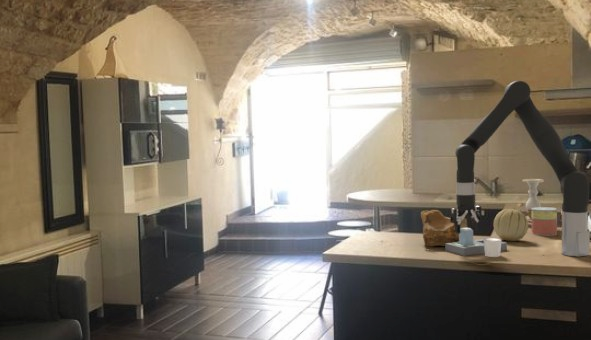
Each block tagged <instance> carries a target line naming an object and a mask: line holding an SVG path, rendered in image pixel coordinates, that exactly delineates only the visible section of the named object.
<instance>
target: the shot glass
mask: <svg viewBox="0 0 591 340" xmlns="http://www.w3.org/2000/svg"><path fill="white" fill-rule="evenodd" d="M482 239H483V240H484V250H485V253H484V256H485V257H488V258H490V257H491V258H497V257H500V256H501V252H502V251H501V242H502V239H501V238H496V237H486V238H482Z"/></svg>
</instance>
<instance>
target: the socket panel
mask: <svg viewBox="0 0 591 340" xmlns="http://www.w3.org/2000/svg"><path fill="white" fill-rule="evenodd" d="M483 239H484V238H480V239H473V245H469V246H465V245H461V244H459V242H452V243H445V246H444V247H445V249H444V250H445V252H449V253H452V254H457V255H460V256H462V257H464V256H473V255H479V254H485V250H484V240H483ZM507 250H508V242H507V241H506V242H505V241H501V251H500V252H502V251H507Z"/></svg>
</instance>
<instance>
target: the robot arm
mask: <svg viewBox="0 0 591 340" xmlns="http://www.w3.org/2000/svg"><path fill="white" fill-rule="evenodd" d="M530 95H531V87H530V85H529V84H528V83H527V82H526V81H523V80H515V81H512V82H511V83H509V84H508V85H507V86H506V87H505V89H504V93H503V96H502V98H501V99H500V100H499V102H498V103H497V104H496V105H495V106H494V108H493V109H492V110H491V111H490V112H489V113H488V114H487V115H485V117H484V118H483V119H482V120H481V121H480V122H479V123H478V124H477V125H476V126H475V128H473V130H472V131H471V133H470V134H469V136H467V137H466V138H465V139H464V140H463V141H462V142H461V143H460V144H458V145H459V146H457V148H456V149H455V158H456V165H457V166H456V167H457V169H456V185H455V191H456V193H455V194H456V195H455V196H456V198H455V202H456V206H457V207H456V208H450V217H449V218H450V222H451V223H454V224H455V232H456V233H458V234H460V233H461V232H460V225H459V224H460V223H461V221H462V220H463V219H464V218H470V219H471V221H472V222H471V225H472V226H471V227H472V228H471V229H472V230H473V232H478V229H479V222H481V221H482V220H483V213H482V206H479V205H476V185H475V157H476V156H475V154H476V152H478V150H479V149H480V148H481V147H482V146H484V145H485V144H486V143H487V142H488V141H489V140H490V138H491V137H492V136H493V135H494V134H495V133H496V131H497V130H498V129H499V128H500V127H501V126H502V124H503V123H504V122H505V120H506V119H507V118H508V117H509V116H510V115H511V114H512V113H513V112H515V113H516V114H517V115H518V117H519V118H520V120H521V122H522V124H523V126H524V128H525V130H526V131H527V133H528V136H530V139H531V140H532V141H533V143H534V145H535V146H536V148H537V150H538V151H539V152H540V153H541V155H542V156H543V158H544V159H545V160H546V161H547V163H548V164H549V165H550V166H551V168H552V169H553V171H554V173H555V175H556V178H557V179H558V182H559V183H560V186H561V188H562V190H563V192H562V193H563V201H562V205H561V254H562V255H564V256H570V257H585V256H590V247H591V245H590V234H591V233H590V231H589V230H588V210H589V209H588V208H589V207H588V206H589V203H590V181H589V178H588V177H587V175H586V174H584V173H583V172H580V170H579V169H578V168H577V167H576V165H575V164H574V163H573V162H572V160H571V159H570V158H569V156H568V154H567V151H566V148H565V146H564V143H563V140H562V139H561V137H560V135H559V133H558V132H557V130H556V129H555V127H554V126H553V125H552V123H550V121H549V120H548V119H547V118H546V117H545V116H544V115H543V114H542V113H541V112H540V111H539V109H538V108H537V107H536V106H535V103H534V102H533V100H532V98H531V96H530Z"/></svg>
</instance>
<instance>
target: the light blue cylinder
mask: <svg viewBox="0 0 591 340" xmlns="http://www.w3.org/2000/svg"><path fill="white" fill-rule="evenodd" d="M460 232H461V233H460V234H459V244H461V245H465V246H469V245H473V240H474V231H473V230H472V228H471V227H468V228H460Z"/></svg>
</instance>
